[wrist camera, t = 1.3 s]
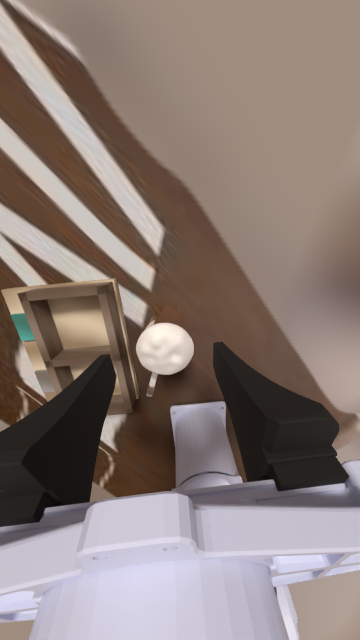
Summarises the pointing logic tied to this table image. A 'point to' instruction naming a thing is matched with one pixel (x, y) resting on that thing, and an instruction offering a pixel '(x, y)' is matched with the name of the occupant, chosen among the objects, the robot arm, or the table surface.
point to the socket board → (75, 335)
